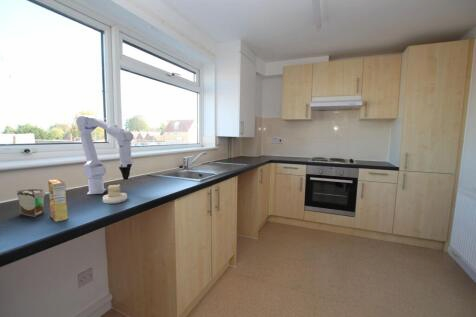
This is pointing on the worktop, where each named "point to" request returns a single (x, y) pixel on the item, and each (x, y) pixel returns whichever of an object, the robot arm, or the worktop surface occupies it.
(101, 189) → the robot arm
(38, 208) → the food container
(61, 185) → the candy box
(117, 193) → the beech block
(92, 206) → the worktop surface
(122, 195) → the ceramic plinth
